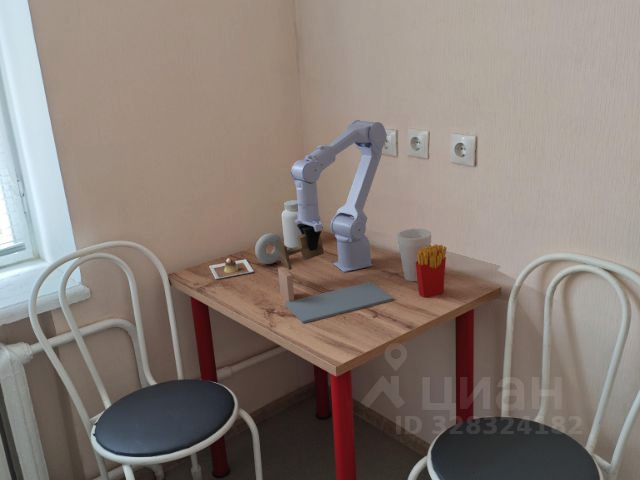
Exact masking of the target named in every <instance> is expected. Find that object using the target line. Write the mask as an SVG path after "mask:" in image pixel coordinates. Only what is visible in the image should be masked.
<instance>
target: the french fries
mask: <svg viewBox="0 0 640 480" xmlns="http://www.w3.org/2000/svg"><path fill="white" fill-rule="evenodd" d="M446 253H447V247H446V246H445V245H442V244H440V245H438V244H434V245H431V244H430V245H429V247H428V246H426V249H425V248H423V249H420V250H419V252H418V253H417V258H418V261H417V262H416V272H417V280H418V281H417V287H418V288H417V289H418V296H419V297H422V298H429V299H430V298H434V297H436V296H439V295H442V294H443V293H444V291H445V290H444V289H445V288H444V287H445V274H446V262H447V261H446V260H447V256H446Z"/></svg>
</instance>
